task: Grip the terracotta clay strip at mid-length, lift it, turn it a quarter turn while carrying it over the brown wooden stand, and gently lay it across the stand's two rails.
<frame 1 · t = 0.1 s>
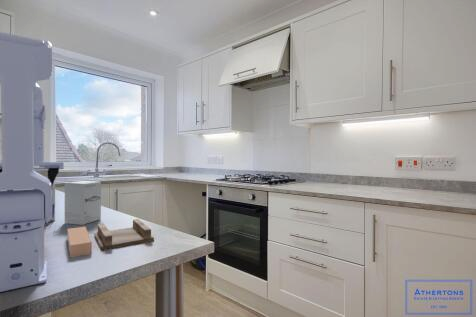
hand: (30, 197, 70), 10 cm above the counter, fingers open, 7 cm apart
clay strip: (78, 247, 63), on the counter
brown wooden stand: (123, 238, 69), on the counter
supplement box: (83, 222, 84), on the counter
energy drink: (44, 222, 84), on the counter
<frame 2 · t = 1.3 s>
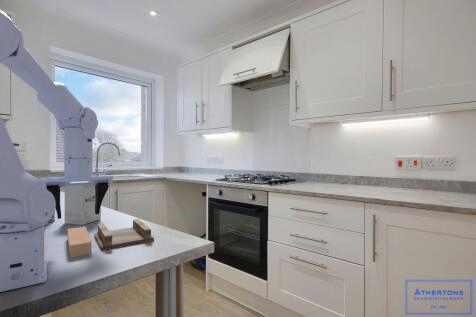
hand: (78, 215, 63), 7 cm above the counter, fingers open, 7 cm apart
nothing on the counter moved.
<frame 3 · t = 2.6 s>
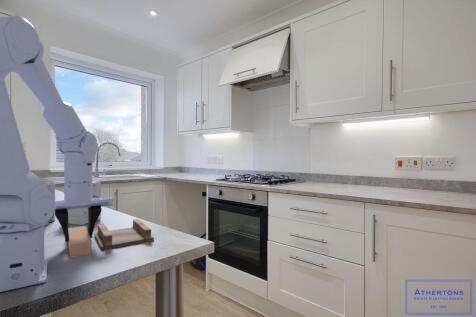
hand: (78, 238, 63), 2 cm above the counter, fingers closed on clay strip, 4 cm apart
clay strip: (78, 246, 63), on the counter, touching gripper
everything else where it was.
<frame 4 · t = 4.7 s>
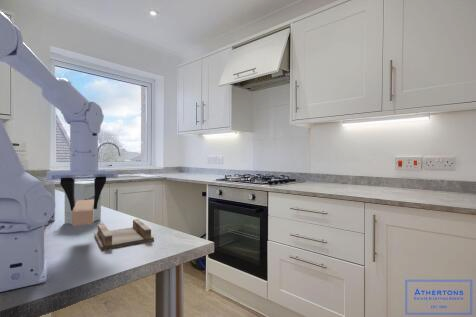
hand: (84, 209, 64), 9 cm above the counter, fingers closed on clay strip, 4 cm apart
clay strip: (84, 217, 64), point 7 cm above the counter, touching gripper
everything else where it was.
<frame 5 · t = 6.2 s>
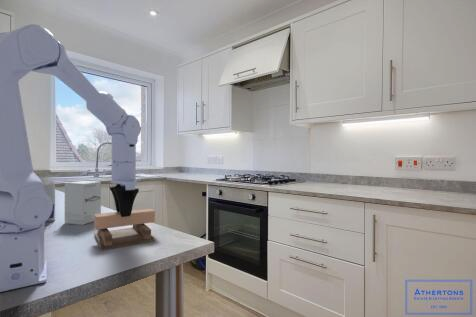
hand: (123, 214, 69), 6 cm above the counter, fingers closed on clay strip, 4 cm apart
clay strip: (125, 224, 69), point 4 cm above the counter, touching gripper
everything else where it was.
when the fingers open (6 cm above the counter, at t = 7.2 s): clay strip stays where it is, resting on brown wooden stand.
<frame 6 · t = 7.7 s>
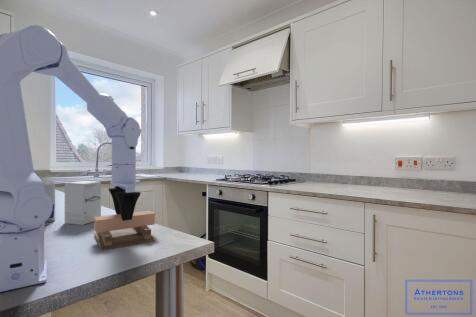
hand: (123, 216, 69), 6 cm above the counter, fingers open, 7 cm apart
clay strip: (125, 226, 69), point 3 cm above the counter, touching brown wooden stand
everything else where it was.
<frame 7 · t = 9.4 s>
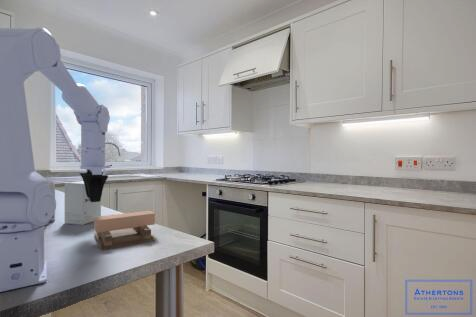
hand: (93, 199, 72), 9 cm above the counter, fingers open, 7 cm apart
nothing on the counter moved.
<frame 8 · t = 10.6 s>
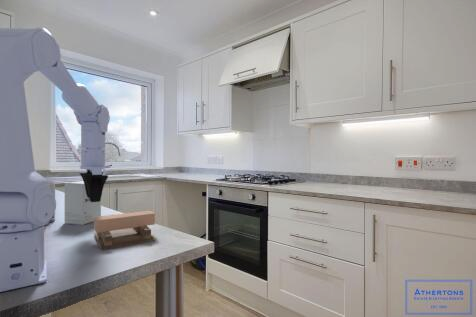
hand: (93, 199, 72), 9 cm above the counter, fingers open, 7 cm apart
nothing on the counter moved.
at the end: clay strip 0.4 cm off-centre on the brown wooden stand, point 3.0 cm above the brown wooden stand's base; clay strip tilted 0°; the gripper is holding nothing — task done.
